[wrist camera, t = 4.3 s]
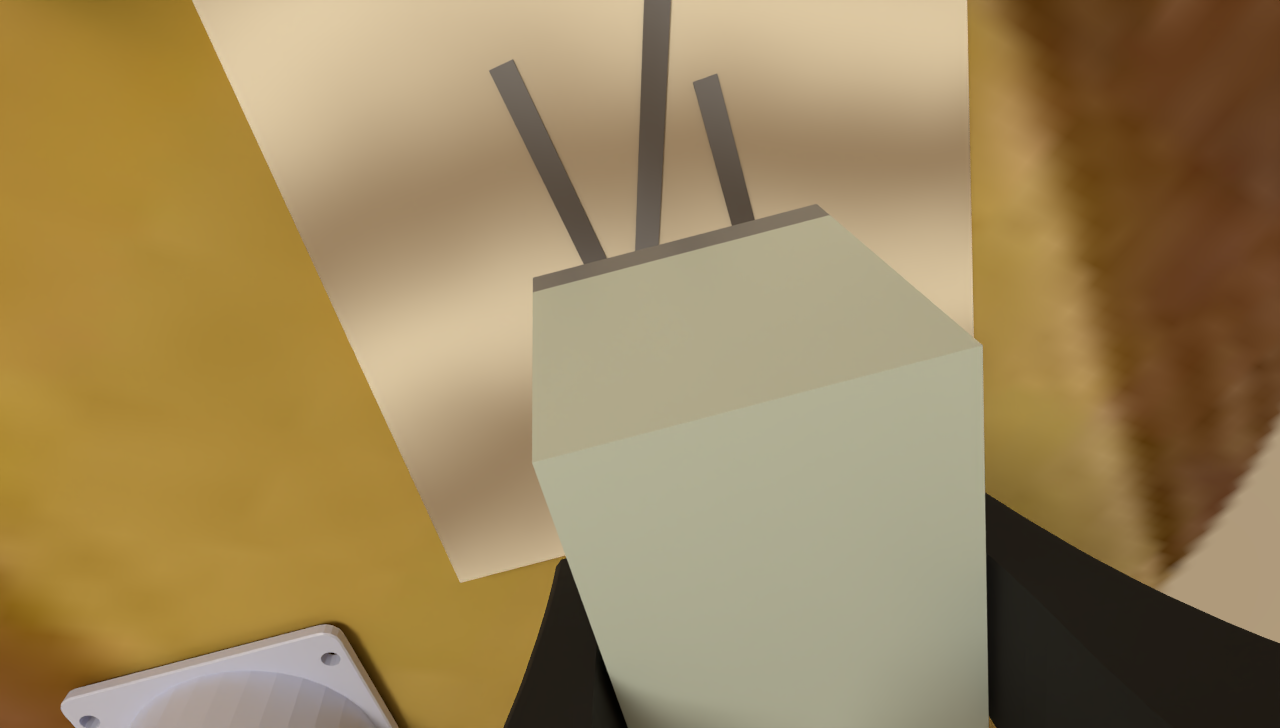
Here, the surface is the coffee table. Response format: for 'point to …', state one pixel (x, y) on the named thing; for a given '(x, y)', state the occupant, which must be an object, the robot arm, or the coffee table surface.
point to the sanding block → (767, 480)
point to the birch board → (577, 181)
